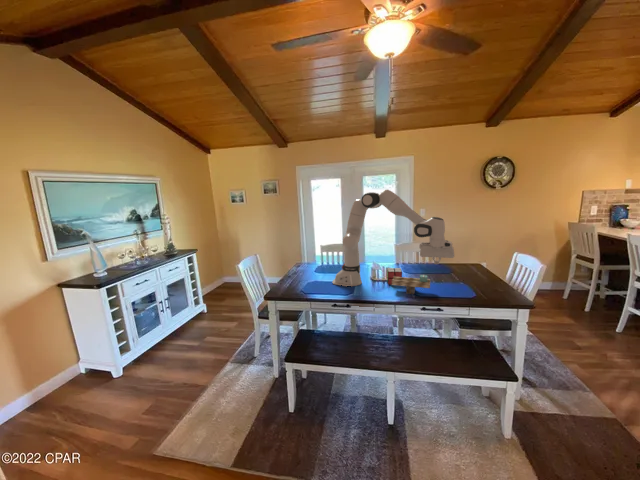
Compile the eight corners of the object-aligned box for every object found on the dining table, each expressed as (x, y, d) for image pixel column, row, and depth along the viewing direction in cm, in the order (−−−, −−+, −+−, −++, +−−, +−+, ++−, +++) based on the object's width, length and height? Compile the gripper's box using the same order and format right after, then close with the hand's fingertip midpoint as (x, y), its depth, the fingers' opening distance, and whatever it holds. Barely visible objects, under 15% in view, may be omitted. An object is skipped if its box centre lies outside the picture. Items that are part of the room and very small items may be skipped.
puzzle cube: (402, 285, 198) (402, 271, 196) (387, 284, 200) (387, 271, 198) (400, 280, 208) (400, 267, 206) (387, 280, 210) (387, 267, 208)
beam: (391, 292, 185) (391, 280, 183) (393, 287, 193) (393, 276, 191) (429, 296, 175) (429, 283, 174) (430, 291, 184) (430, 278, 182)
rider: (419, 284, 179) (419, 276, 178) (420, 281, 183) (420, 274, 182) (427, 284, 177) (427, 277, 176) (427, 282, 181) (427, 275, 180)
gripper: (419, 243, 173) (419, 264, 176) (454, 244, 165) (454, 266, 168) (419, 241, 179) (419, 261, 182) (454, 242, 171) (453, 263, 173)
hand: (436, 263), depth 175 cm, fingers closed
